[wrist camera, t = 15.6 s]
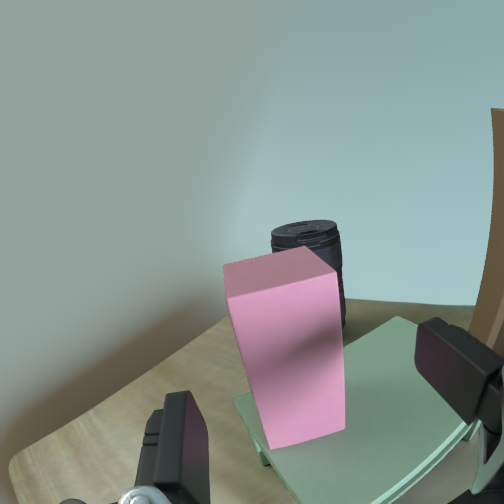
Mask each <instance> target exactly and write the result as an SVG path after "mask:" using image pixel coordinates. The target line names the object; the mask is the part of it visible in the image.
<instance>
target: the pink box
mask: <svg viewBox="0 0 504 504" xmlns="http://www.w3.org/2000/svg"><path fill="white" fill-rule="evenodd" d="M223 272H224V285H225V297H226V303H227V307H228V311H229V314H230V318H231V322H232V325H233V329H234V333H235V336H236V340H237V344H238V347H239V351H240V354H241V358H242V361H243V365H244V368H245V371H246V375H247V378H248V382H249V385H250V388H251V392H252V395H253V398H254V402H255V405H256V408H257V412H258V415H259V418H260V421H261V424H262V428H263V431H264V434H265V437H266V440H267V443H268V446H269V449H270V450H273V449H277V448H282V447H286V446H290V445H294V444H297V443H301V442H305V441H308V440H312V439H315V438H318V437H322V436H325V435H328V434H331V433H334V432H337V431H340V430H343V429H345V380H344V356H343V338H342V324H341V311H340V300H339V289H338V279H337V272H336V271H335V270H334V269H332V268H331V267H330V266H329V265H328V264H326V263H325V262H324V261H323V260H322V259H320V258H319V257H318V256H317V255H316V254H314V253H313V252H312V251H311V250H310V249H308V248H307V247H306V246H302V247H298V248H294V249H289V250H285V251H281V252H276V253H272V254H268V255H264V256H260V257H255V258H251V259H246V260H242V261H238V262H234V263H229V264H225V265H223Z"/></svg>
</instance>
